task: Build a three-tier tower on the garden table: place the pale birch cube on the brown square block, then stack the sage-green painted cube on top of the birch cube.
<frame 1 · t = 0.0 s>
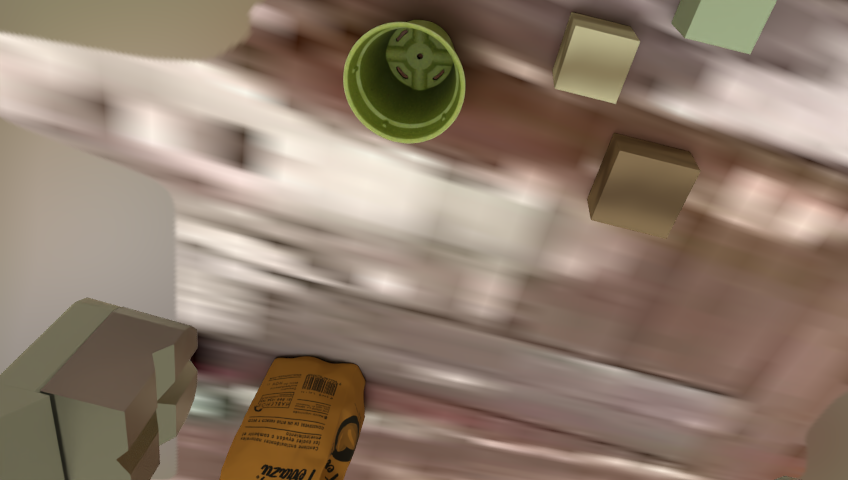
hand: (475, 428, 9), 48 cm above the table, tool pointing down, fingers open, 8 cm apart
plant pot: (420, 55, 54), on the table
birch cube: (590, 49, 52), on the table
brown square block: (636, 176, 57), on the table
coffee package: (321, 382, 77), on the table
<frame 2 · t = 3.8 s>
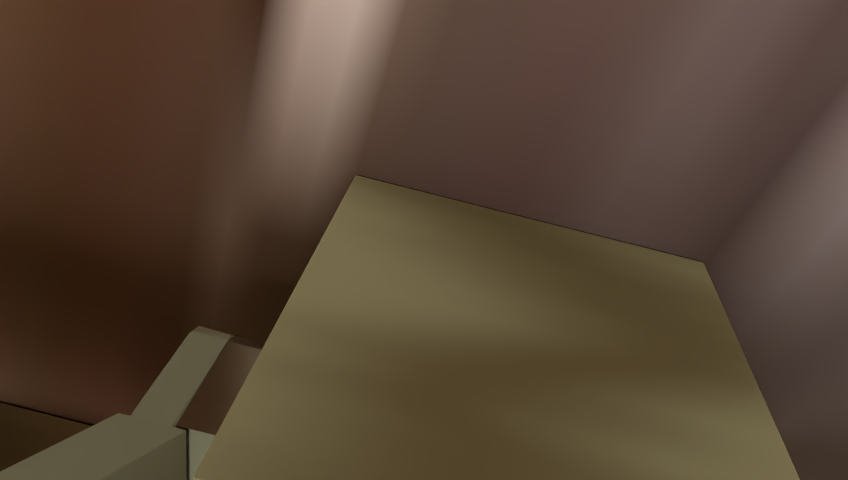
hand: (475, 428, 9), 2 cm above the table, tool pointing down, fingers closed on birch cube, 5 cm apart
birch cube: (483, 348, 10), on the table, touching gripper
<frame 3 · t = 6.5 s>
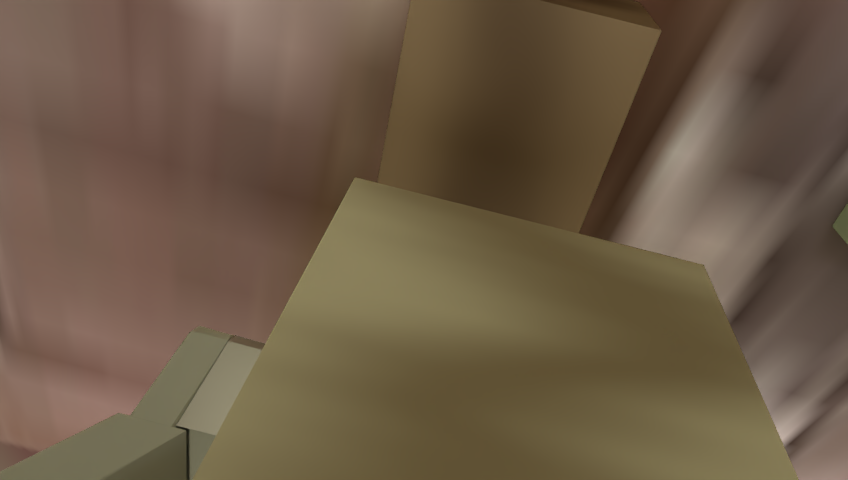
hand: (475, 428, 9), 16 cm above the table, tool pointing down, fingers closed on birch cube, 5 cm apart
birch cube: (483, 350, 10), point 15 cm above the table, touching gripper
brown square block: (507, 78, 22), on the table
when the fingers open (7 cm above the table, at t = 8.5 s): birch cube stays where it is, resting on brown square block.
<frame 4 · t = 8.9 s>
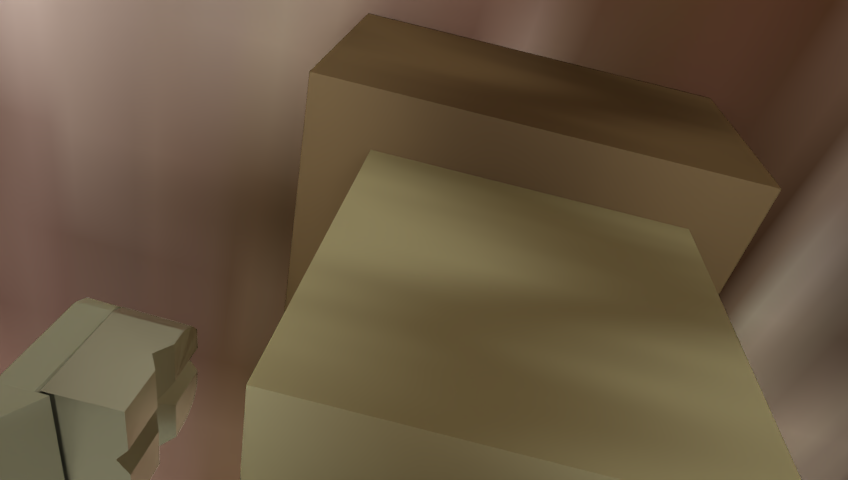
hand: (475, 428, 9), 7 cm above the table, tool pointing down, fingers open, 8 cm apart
birch cube: (487, 313, 11), point 4 cm above the table, touching brown square block
brown square block: (492, 205, 14), on the table
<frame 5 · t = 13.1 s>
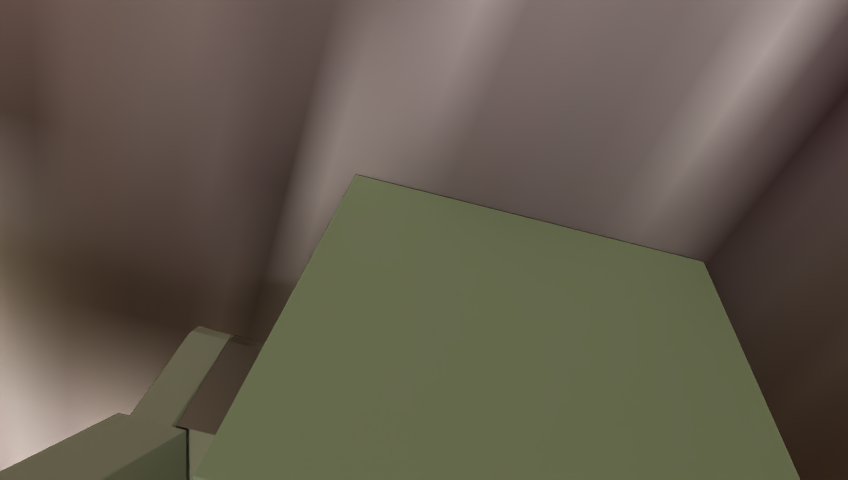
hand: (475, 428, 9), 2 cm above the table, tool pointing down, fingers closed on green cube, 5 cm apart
green cube: (483, 347, 10), on the table, touching gripper
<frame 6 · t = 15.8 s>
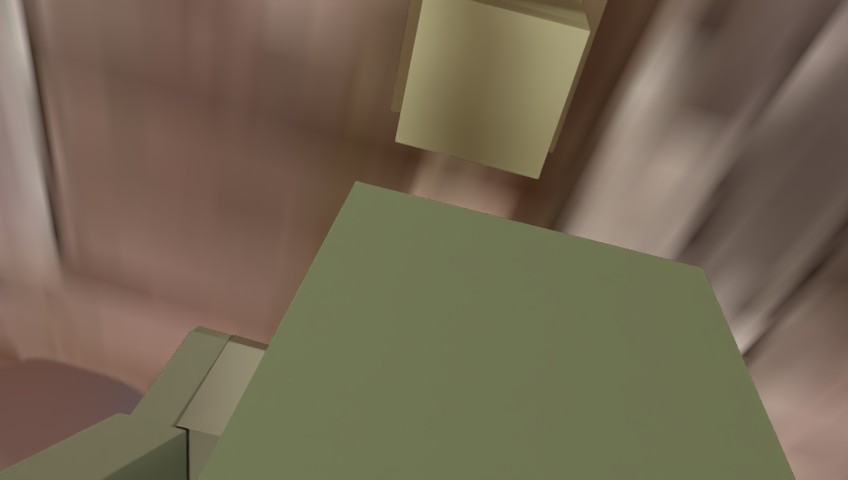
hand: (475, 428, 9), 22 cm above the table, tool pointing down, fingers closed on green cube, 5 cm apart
birch cube: (495, 48, 24), point 4 cm above the table, touching brown square block
green cube: (483, 353, 10), point 21 cm above the table, touching gripper
brown square block: (499, 24, 27), on the table
when the fingers open (12 cm above the table, at t = 18.7 s): green cube stays where it is, resting on birch cube.
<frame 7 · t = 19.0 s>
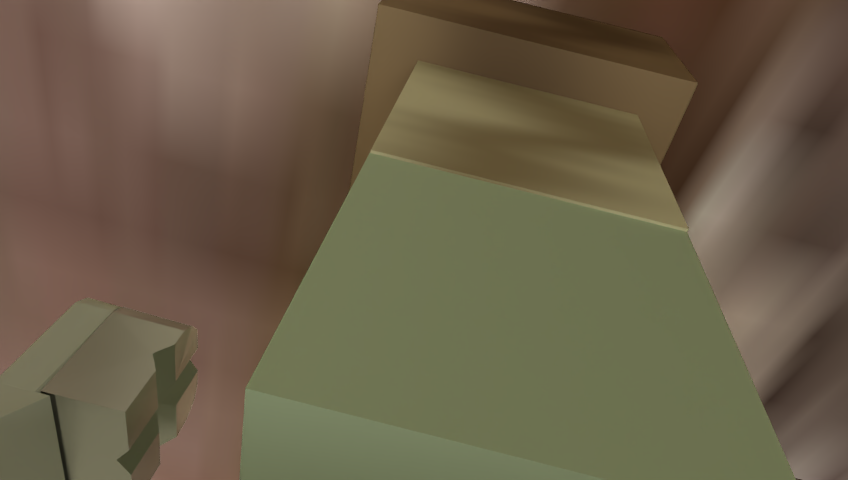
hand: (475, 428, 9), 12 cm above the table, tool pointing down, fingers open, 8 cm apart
birch cube: (497, 185, 15), point 4 cm above the table, touching brown square block, green cube
green cube: (486, 315, 11), point 9 cm above the table, touching birch cube
brown square block: (500, 126, 18), on the table
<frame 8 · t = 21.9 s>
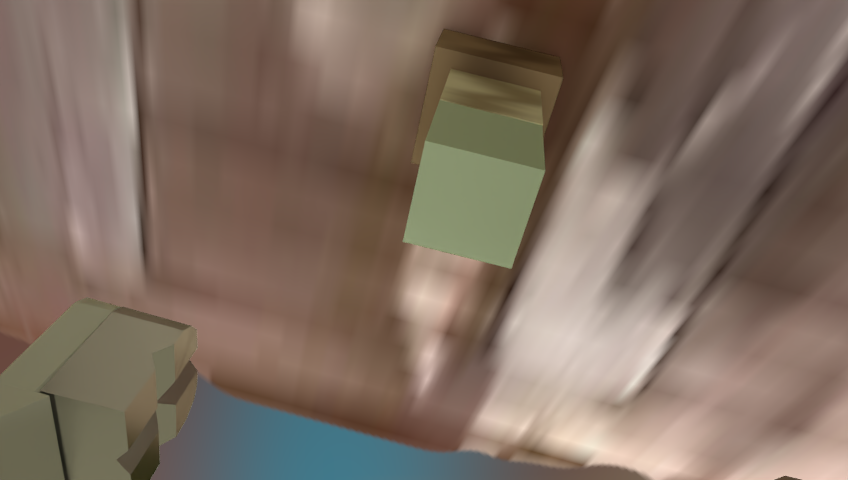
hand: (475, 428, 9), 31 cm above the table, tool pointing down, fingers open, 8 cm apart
birch cube: (484, 122, 35), point 4 cm above the table, touching brown square block, green cube
green cube: (478, 159, 30), point 9 cm above the table, touching birch cube
brown square block: (486, 99, 38), on the table
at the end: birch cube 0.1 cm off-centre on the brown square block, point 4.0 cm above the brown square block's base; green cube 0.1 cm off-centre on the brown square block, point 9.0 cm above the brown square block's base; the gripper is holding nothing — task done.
